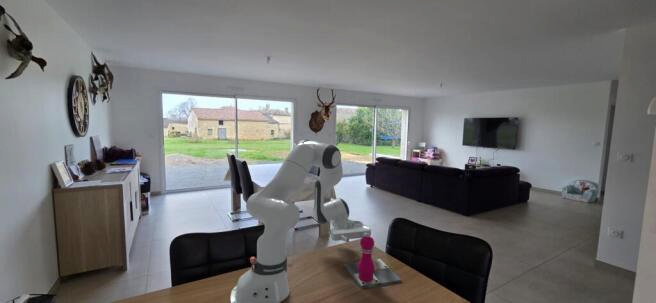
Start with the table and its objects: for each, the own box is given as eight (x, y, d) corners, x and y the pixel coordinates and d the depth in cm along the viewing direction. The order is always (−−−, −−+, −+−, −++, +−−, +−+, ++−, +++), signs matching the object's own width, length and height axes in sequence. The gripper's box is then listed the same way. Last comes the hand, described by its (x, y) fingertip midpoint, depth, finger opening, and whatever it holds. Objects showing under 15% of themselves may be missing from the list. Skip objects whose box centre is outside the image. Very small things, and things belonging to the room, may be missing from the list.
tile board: (361, 288, 113) (361, 285, 112) (344, 265, 131) (344, 263, 130) (401, 281, 118) (401, 279, 118) (380, 260, 136) (380, 258, 136)
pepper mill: (373, 283, 114) (375, 237, 112) (356, 281, 116) (358, 235, 114) (374, 274, 121) (376, 230, 119) (358, 272, 123) (359, 229, 121)
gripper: (327, 224, 138) (336, 235, 125) (364, 221, 144) (376, 231, 131) (326, 236, 139) (335, 248, 126) (363, 232, 145) (376, 243, 132)
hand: (356, 239), depth 128 cm, fingers open, 8 cm apart
